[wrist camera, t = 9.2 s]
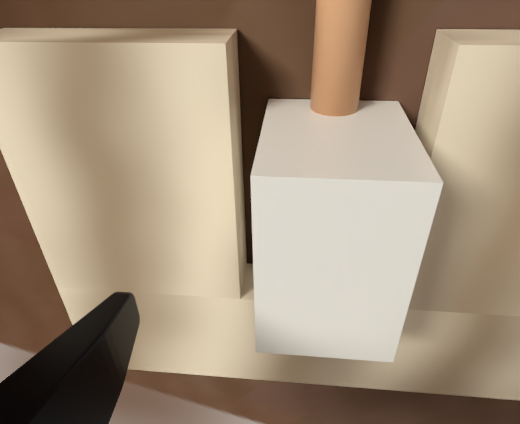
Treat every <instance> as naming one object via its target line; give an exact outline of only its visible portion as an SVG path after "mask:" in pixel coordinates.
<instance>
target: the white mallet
mask: <svg viewBox="0 0 520 424" xmlns="http://www.w3.org/2000/svg"><path fill="white" fill-rule="evenodd" d="M371 2H372V0H316V16H315V33H314V50H313V67H312V84H311V100H309V99H269V100H268V104H267V108H266V112H265V116H264V121H263V125H262V129H261V133H260V137H259V142H258V146H257V150H256V154H255V159H254V163H253V167H252V171H251V175H250V180H251V213H252V246H253V279H254V311H255V344H256V352H260V353H273V354H287V355H300V356H314V357H327V358H341V359H354V360H368V361H381V362H393V361H394V357H395V354H396V350H397V347H398V343H399V339H400V336H401V332H402V329H403V325H404V322H405V318H406V315H407V311H408V307H409V304H410V300H411V297H412V293H413V290H414V286H415V283H416V279H417V275H418V272H419V268H420V265H421V261H422V258H423V254H424V250H425V247H426V243H427V240H428V236H429V233H430V229H431V226H432V222H433V218H434V215H435V211H436V208H437V204H438V201H439V197H440V194H441V190H442V186H443V181H442V179H441V177H440V176H439V174H438V172H437V170H436V168H435V167H434V165H433V163H432V161H431V159H430V158H429V156H428V154H427V152H426V150H425V149H424V147H423V145H422V143H421V141H420V139H419V138H418V136H417V134H416V132H415V130H414V129H413V127H412V125H411V123H410V121H409V120H408V118H407V116H406V114H405V112H404V111H403V109H402V107H401V105H400V103H399V102H398V101H362V100H359V96H360V88H361V81H362V73H363V65H364V57H365V49H366V41H367V34H368V26H369V18H370V10H371Z"/></svg>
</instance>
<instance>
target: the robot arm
mask: <svg viewBox="0 0 520 424" xmlns="http://www.w3.org/2000/svg"><path fill="white" fill-rule="evenodd" d="M139 324H140V315H139V311H138V307H137V304H136V300H135V296H134V294H133V293H131V292H114V293H113V294H111V295H110V296H109V297H108V298H106V299H105V300H104V301H103V302H101V303H100V304H99V305H98V306H96V307H95V308H94V309H92V310H91V311H90V312H89V313H87V314H86V315H85V316H84V317H82V318H81V319H80V320H79V321H77V322H76V323H75V324H74V325H72V326H71V327H70V328H69V329H67V330H66V331H65V332H64V333H62V334H61V335H60V336H59V337H57V338H56V339H55V340H54V341H52V342H51V343H50V344H49V345H47V346H46V347H45V348H44V349H42V350H41V351H40V352H39V353H37V354H36V355H35V356H34V357H32V358H31V359H30V360H29V361H27V362H26V363H25V364H24V365H22V366H21V367H20V368H18V369H17V370H16V371H15V372H13V373H12V374H11V375H10V376H8V377H7V378H6V379H5V380H3V381H2V382H1V383H0V424H109V421H110V418H111V416H112V413H113V411H114V408H115V406H116V403H117V400H118V398H119V395H120V392H121V390H122V387H123V384H124V380H125V377H126V373H127V369H128V366H129V362H130V358H131V354H132V351H133V347H134V343H135V340H136V336H137V332H138V328H139Z"/></svg>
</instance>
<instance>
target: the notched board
mask: <svg viewBox="0 0 520 424" xmlns="http://www.w3.org/2000/svg"><path fill="white" fill-rule="evenodd" d="M415 132H416V134H417V136H418V138H419V139H420V141H421V143H422V145H423V147H424V149H425V150H426V152H427V154H428V156H429V158H430V159H431V161H432V163H433V165H434V167H435V168H436V170H437V172H438V174H439V176H440V177H441V179H442V181H443V186H442V190H441V194H440V197H439V201H438V204H437V208H436V211H435V215H434V218H433V222H432V226H431V229H430V233H429V236H428V240H427V243H426V247H425V250H424V254H423V258H422V261H421V265H420V268H419V272H418V275H417V279H416V283H415V286H414V290H413V293H412V297H411V300H410V304H409V307H408V311H407V315H406V318H405V322H404V325H403V329H402V332H401V336H400V339H399V343H398V347H397V350H396V354H395V357H394V361H393V362H381V361H368V360H354V359H341V358H327V357H314V356H300V355H287V354H273V353H260V352H256V344H255V311H254V279H253V264H248V263H247V255H246V231H245V207H244V183H243V159H242V135H241V112H240V88H239V64H238V40H237V29H192V28H1V29H0V149H1V151H2V154H3V156H4V159H5V161H6V164H7V166H8V168H9V171H10V173H11V176H12V178H13V181H14V183H15V186H16V188H17V190H18V193H19V195H20V198H21V200H22V203H23V205H24V208H25V210H26V212H27V215H28V217H29V220H30V222H31V225H32V227H33V229H34V232H35V234H36V237H37V239H38V242H39V244H40V247H41V249H42V251H43V254H44V256H45V259H46V261H47V264H48V266H49V269H50V271H51V273H52V276H53V278H54V281H55V283H56V286H57V288H58V290H59V293H60V295H61V298H62V300H63V303H64V305H65V308H66V310H67V312H68V315H69V317H70V320H71V322H72V325H74V324H75V323H76V322H77V321H79V320H80V319H81V318H82V317H84V316H85V315H86V314H87V313H89V312H90V311H91V310H92V309H94V308H95V307H96V306H98V305H99V304H100V303H101V302H103V301H104V300H105V299H106V298H108V297H109V296H110V295H111V294H113V293H114V292H131V293H133V294H134V296H135V300H136V304H137V307H138V311H139V315H140V324H139V328H138V332H137V336H136V340H135V343H134V347H133V351H132V354H131V358H130V362H129V366H128V369H132V370H145V371H157V372H170V373H182V374H195V375H207V376H220V377H232V378H245V379H257V380H270V381H282V382H295V383H307V384H320V385H333V386H345V387H358V388H370V389H383V390H395V391H408V392H420V393H433V394H445V395H458V396H470V397H483V398H495V399H508V400H520V30H484V29H437V31H436V35H435V40H434V45H433V49H432V54H431V59H430V63H429V68H428V73H427V77H426V82H425V87H424V91H423V96H422V100H421V105H420V110H419V114H418V119H417V124H416V128H415Z"/></svg>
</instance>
